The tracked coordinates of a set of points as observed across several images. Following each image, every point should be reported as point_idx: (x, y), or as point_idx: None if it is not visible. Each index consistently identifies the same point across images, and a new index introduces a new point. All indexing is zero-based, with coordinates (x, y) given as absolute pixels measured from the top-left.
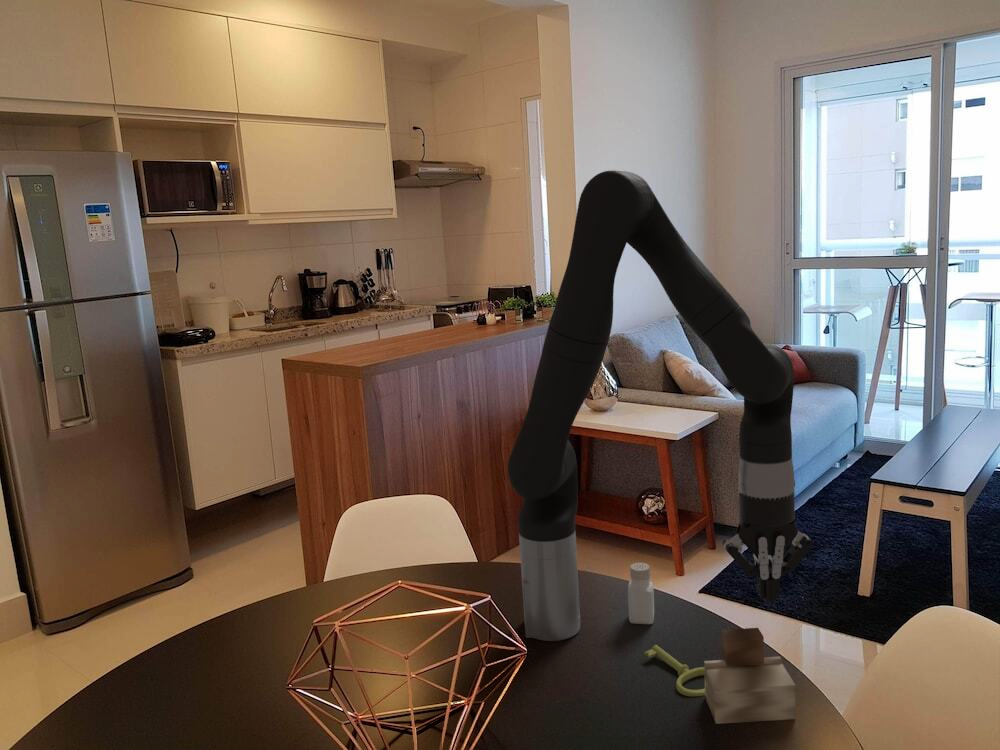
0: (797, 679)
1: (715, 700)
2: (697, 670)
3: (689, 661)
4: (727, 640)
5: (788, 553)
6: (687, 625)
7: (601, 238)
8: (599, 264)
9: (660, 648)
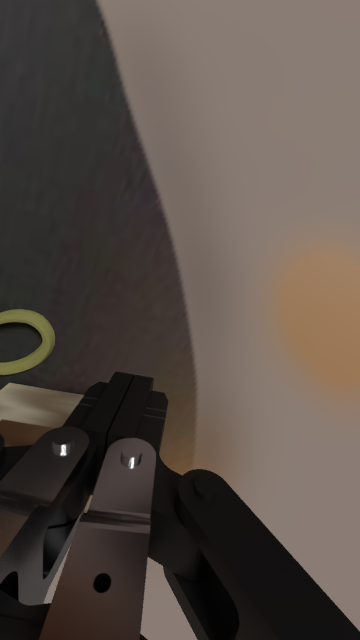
0: (190, 375)
1: None
2: (6, 322)
3: (9, 264)
4: None
5: (235, 599)
6: (38, 92)
7: None
8: None
9: None
